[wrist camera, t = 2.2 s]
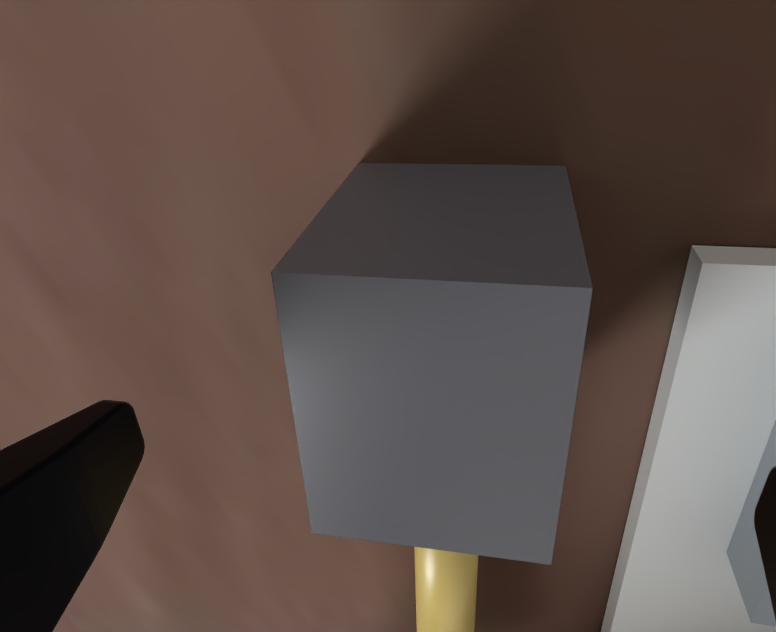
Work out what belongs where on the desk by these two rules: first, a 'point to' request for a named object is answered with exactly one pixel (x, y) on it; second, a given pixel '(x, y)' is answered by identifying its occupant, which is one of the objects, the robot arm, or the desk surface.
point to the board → (705, 458)
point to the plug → (438, 365)
